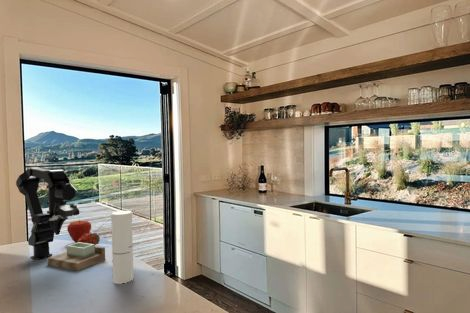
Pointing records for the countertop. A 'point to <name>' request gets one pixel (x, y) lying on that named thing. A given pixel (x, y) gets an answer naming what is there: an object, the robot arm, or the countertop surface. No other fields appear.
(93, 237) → the dragon fruit
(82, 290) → the countertop surface
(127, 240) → the cylindrical container
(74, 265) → the walnut shelf
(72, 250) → the sage tray
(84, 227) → the apple
